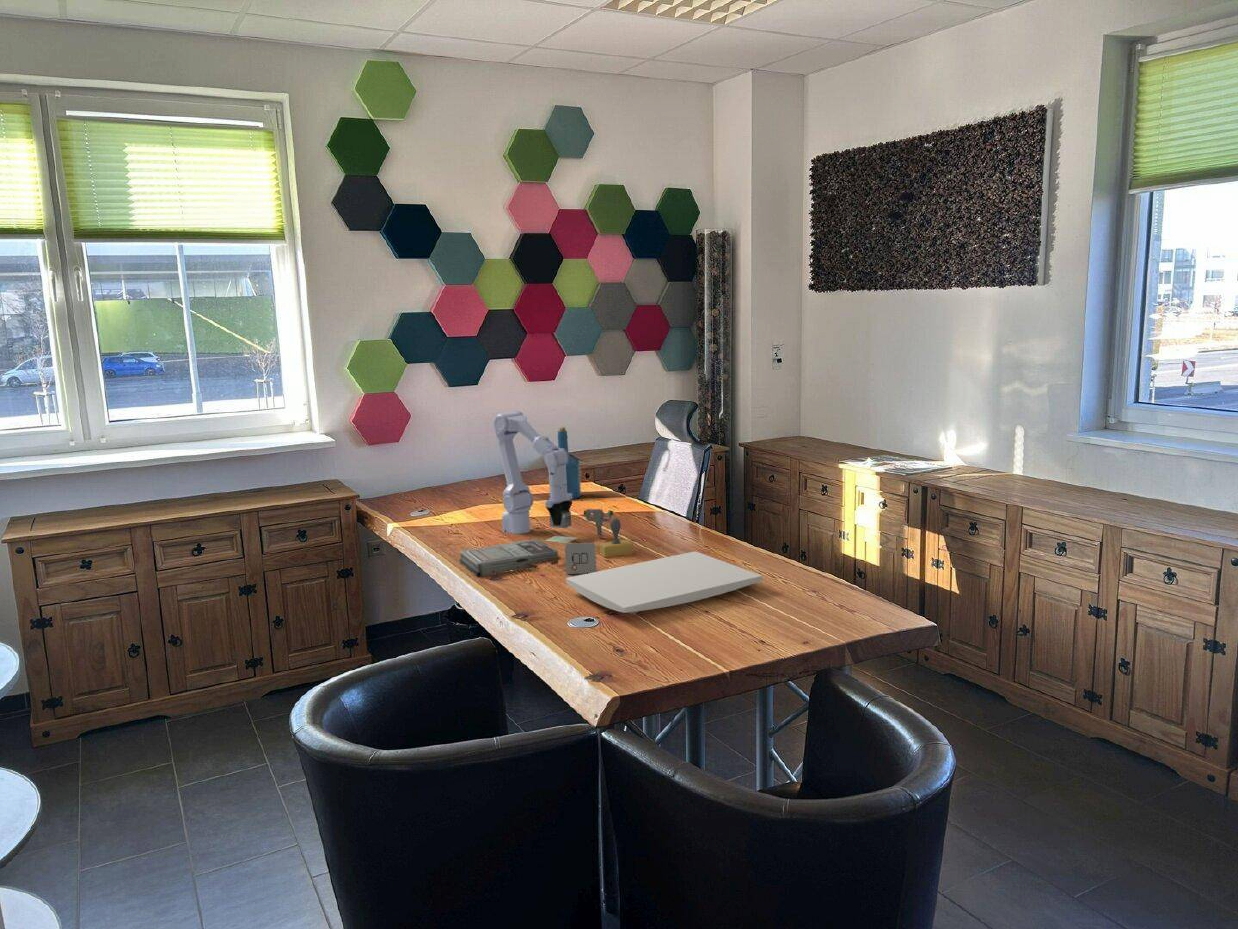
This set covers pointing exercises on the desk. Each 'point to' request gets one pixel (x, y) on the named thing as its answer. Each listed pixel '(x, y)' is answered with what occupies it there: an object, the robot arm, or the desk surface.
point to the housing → (563, 520)
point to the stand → (561, 539)
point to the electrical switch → (580, 558)
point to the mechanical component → (598, 517)
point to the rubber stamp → (616, 543)
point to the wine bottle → (570, 466)
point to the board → (662, 582)
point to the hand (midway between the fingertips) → (560, 523)
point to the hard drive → (507, 557)
